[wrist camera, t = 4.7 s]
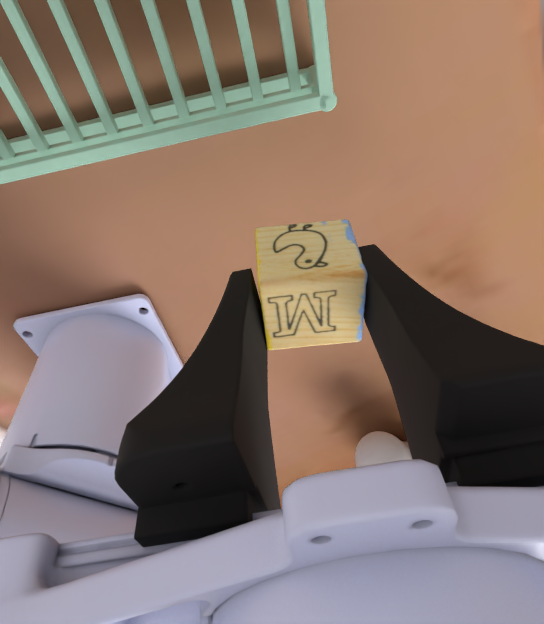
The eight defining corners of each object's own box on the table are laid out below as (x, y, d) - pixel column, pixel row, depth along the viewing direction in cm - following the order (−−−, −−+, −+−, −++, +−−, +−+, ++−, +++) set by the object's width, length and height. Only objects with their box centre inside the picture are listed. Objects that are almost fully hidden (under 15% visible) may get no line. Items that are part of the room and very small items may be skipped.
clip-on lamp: (500, 427, 43) (482, 357, 29) (542, 492, 39) (543, 447, 25) (390, 475, 46) (326, 432, 32) (419, 541, 42) (360, 524, 28)
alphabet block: (344, 287, 17) (363, 346, 14) (262, 295, 17) (267, 356, 14) (348, 214, 14) (370, 270, 12) (253, 224, 14) (257, 282, 12)
